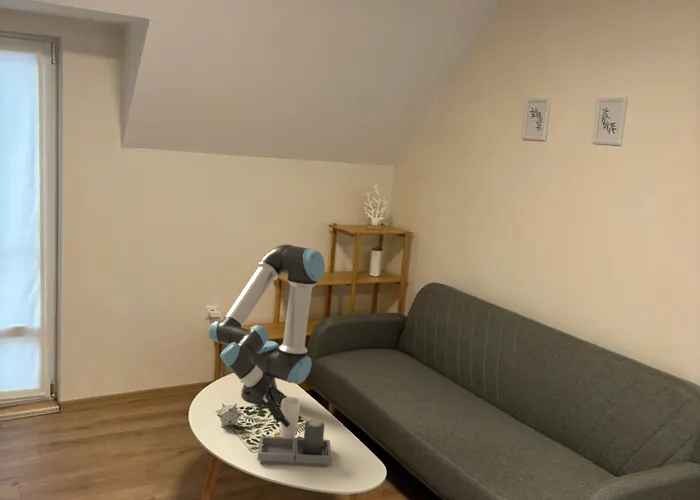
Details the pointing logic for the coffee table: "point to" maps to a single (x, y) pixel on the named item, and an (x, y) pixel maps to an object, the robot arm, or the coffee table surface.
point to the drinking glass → (290, 414)
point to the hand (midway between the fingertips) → (294, 422)
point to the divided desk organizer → (297, 448)
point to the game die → (229, 415)
